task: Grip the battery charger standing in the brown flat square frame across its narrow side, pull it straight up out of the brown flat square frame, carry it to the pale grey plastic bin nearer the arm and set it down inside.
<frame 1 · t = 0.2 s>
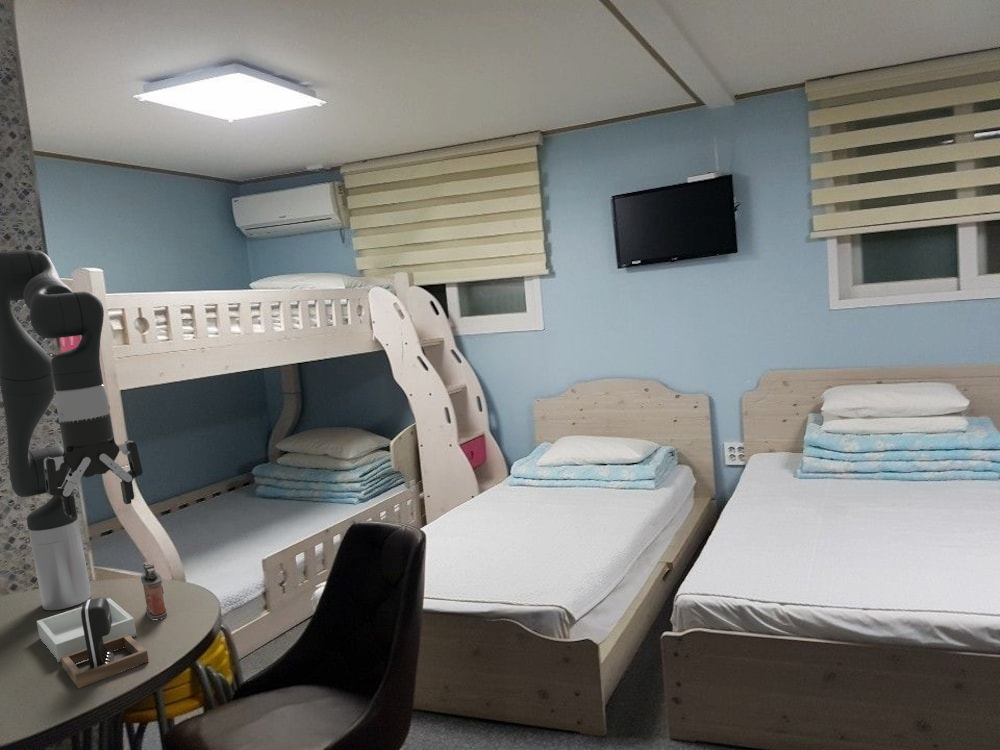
hand: (100, 510, 134), 27 cm above the table, tool pointing down, fingers open, 8 cm apart
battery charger: (105, 666, 138), resting in brown flat square frame
brown flat square frame: (105, 665, 137), on the table
lighter: (157, 614, 159), on the table
bin: (87, 637, 150), on the table
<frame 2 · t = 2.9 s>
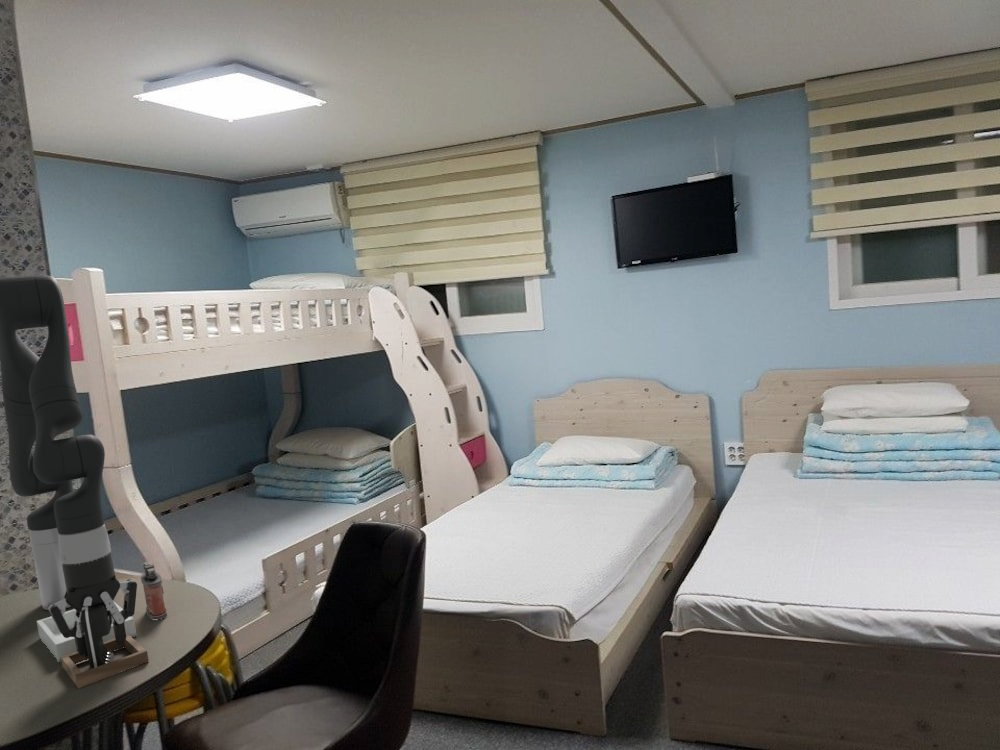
hand: (102, 649, 137), 3 cm above the table, tool pointing down, fingers closed on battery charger, 5 cm apart
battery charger: (105, 666, 138), resting in brown flat square frame, touching gripper
everything else where it was.
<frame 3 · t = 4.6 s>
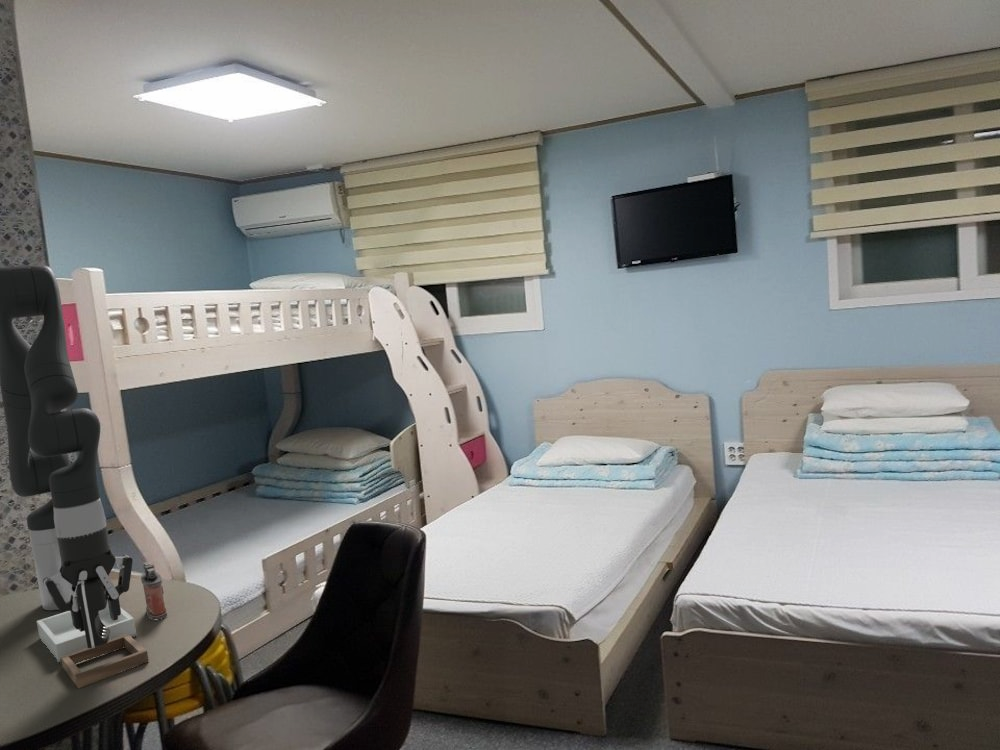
hand: (98, 624, 137), 7 cm above the table, tool pointing down, fingers closed on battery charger, 4 cm apart
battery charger: (102, 640, 137), point 4 cm above the table, touching gripper
everything else where it was.
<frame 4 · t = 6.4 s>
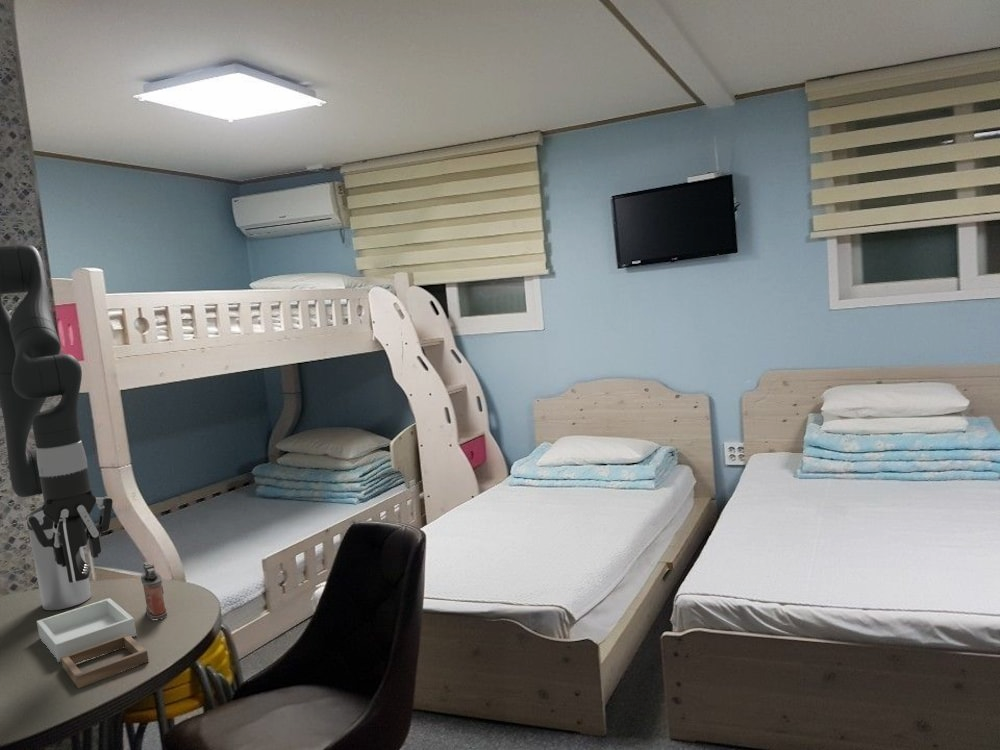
hand: (79, 560, 143), 16 cm above the table, tool pointing down, fingers closed on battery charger, 4 cm apart
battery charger: (82, 577, 144), point 13 cm above the table, touching gripper
everything else where it was.
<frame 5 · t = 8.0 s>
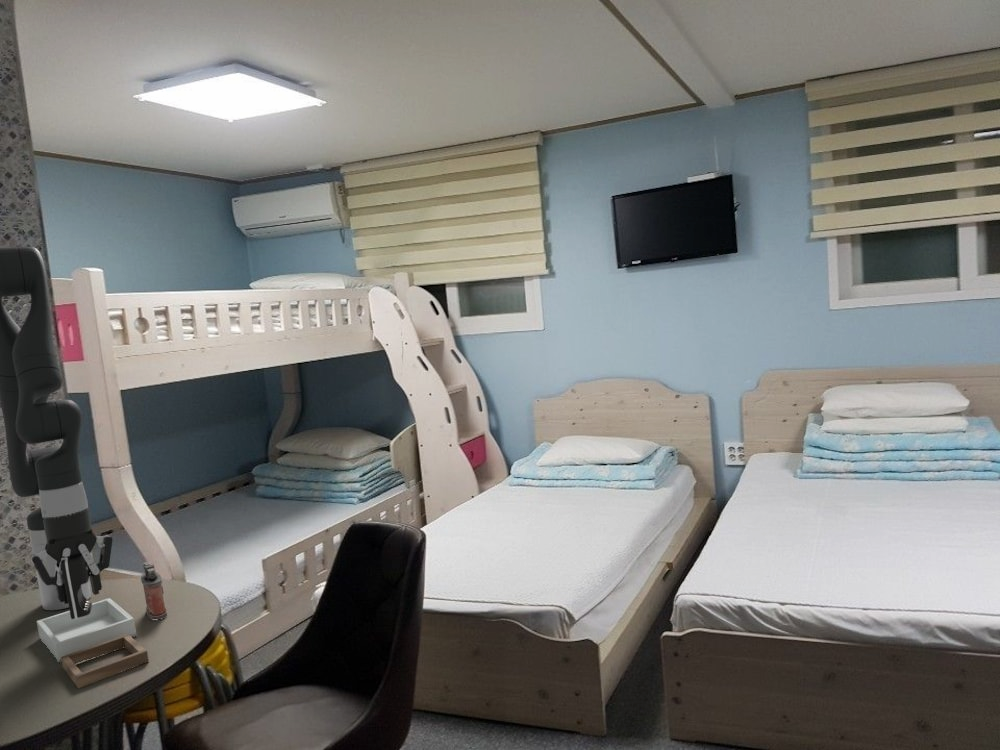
hand: (80, 597, 149), 8 cm above the table, tool pointing down, fingers closed on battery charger, 4 cm apart
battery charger: (84, 613, 150), point 5 cm above the table, touching gripper
everything else where it was.
when the fingers open (4 cm above the table, at t = 9.6 s): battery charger stays where it is, resting on bin.
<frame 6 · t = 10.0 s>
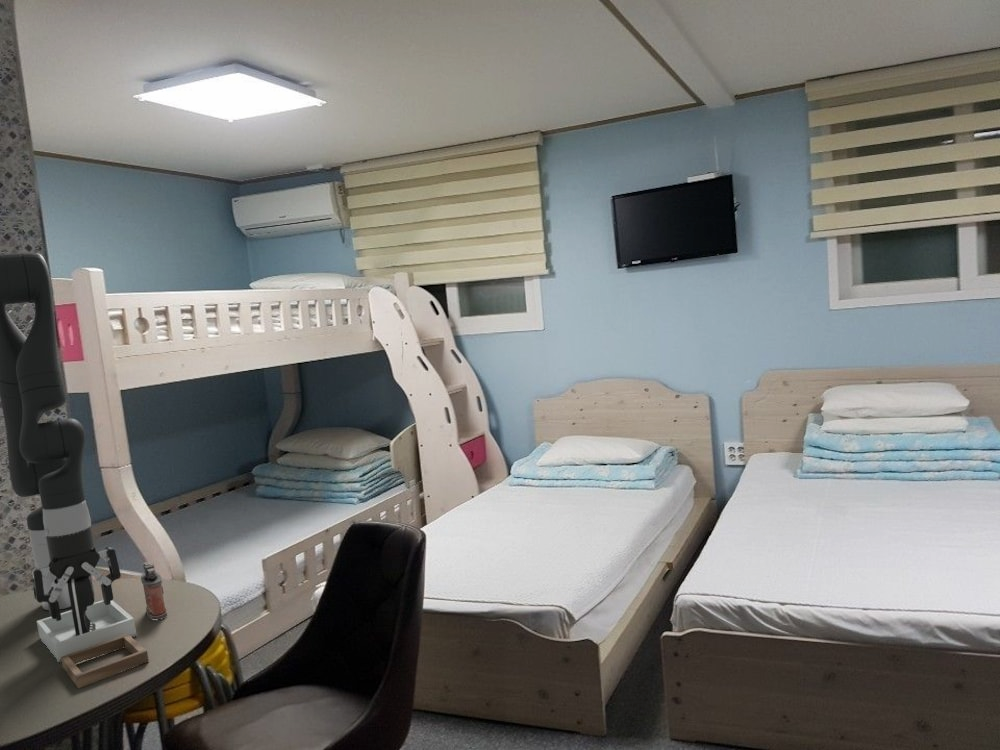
hand: (83, 611, 150), 5 cm above the table, tool pointing down, fingers open, 8 cm apart
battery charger: (88, 634, 150), resting on bin
everything else where it was.
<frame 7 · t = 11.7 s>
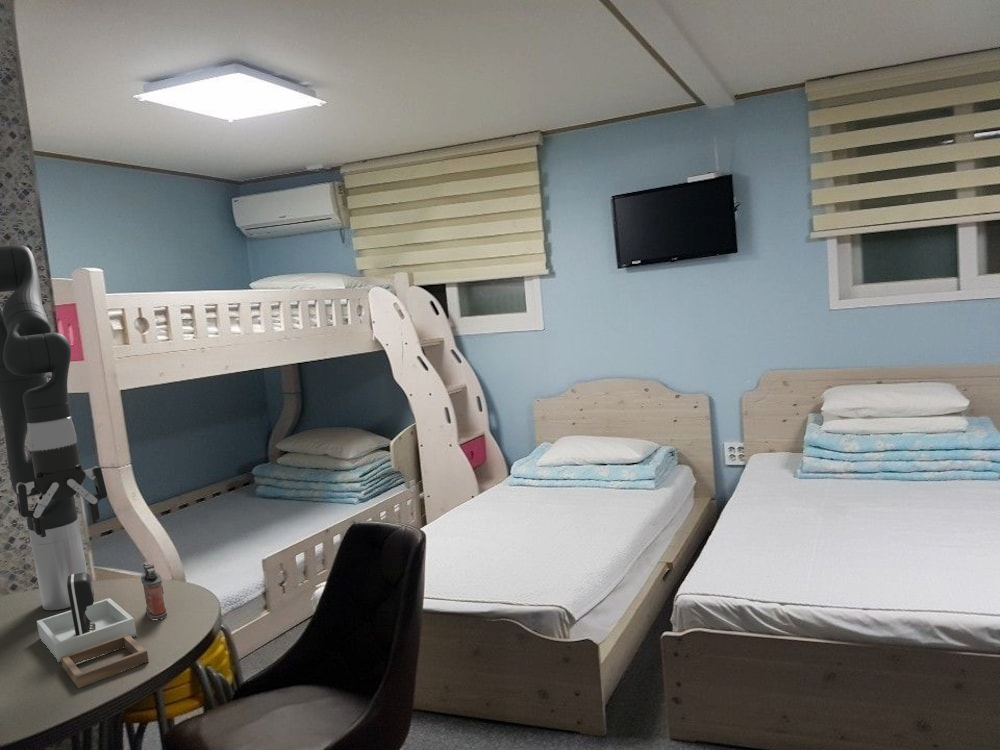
hand: (68, 529, 148), 21 cm above the table, tool pointing down, fingers open, 8 cm apart
nothing on the table moved.
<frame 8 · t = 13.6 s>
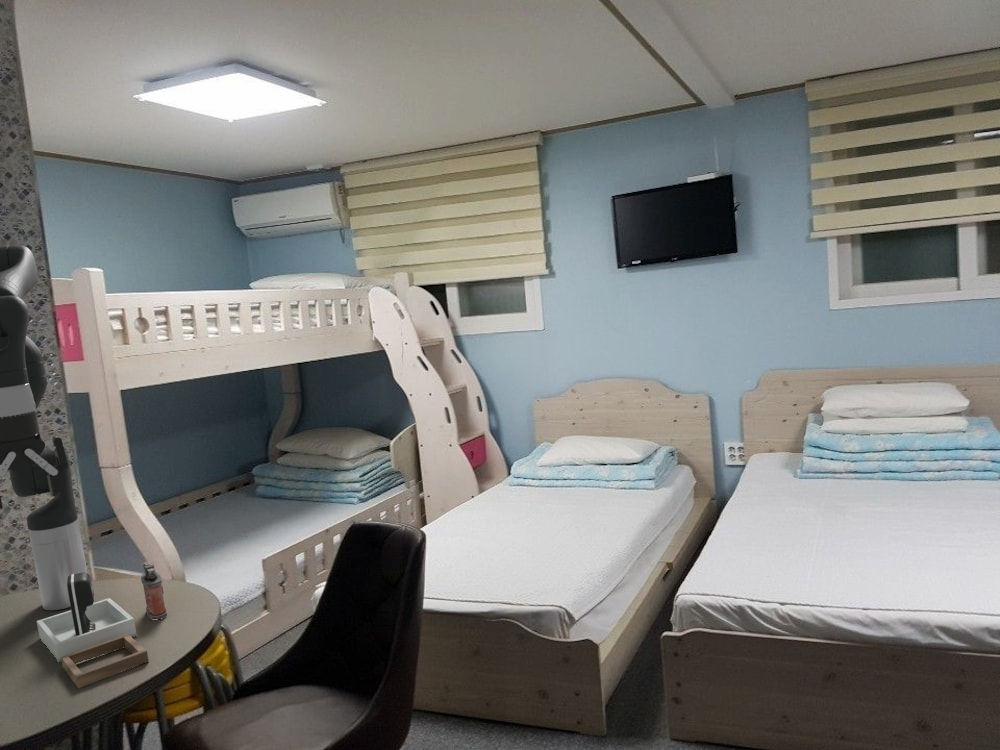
hand: (27, 502, 142), 28 cm above the table, tool pointing down, fingers open, 8 cm apart
nothing on the table moved.
at the end: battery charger inside the target area on the bin (0.3 cm from its centre), point 0.4 cm above the bin's base; the gripper is holding nothing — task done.
